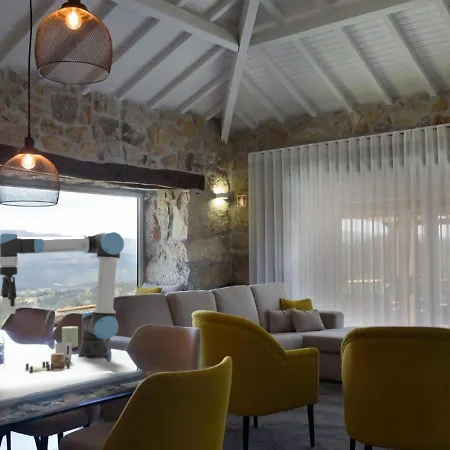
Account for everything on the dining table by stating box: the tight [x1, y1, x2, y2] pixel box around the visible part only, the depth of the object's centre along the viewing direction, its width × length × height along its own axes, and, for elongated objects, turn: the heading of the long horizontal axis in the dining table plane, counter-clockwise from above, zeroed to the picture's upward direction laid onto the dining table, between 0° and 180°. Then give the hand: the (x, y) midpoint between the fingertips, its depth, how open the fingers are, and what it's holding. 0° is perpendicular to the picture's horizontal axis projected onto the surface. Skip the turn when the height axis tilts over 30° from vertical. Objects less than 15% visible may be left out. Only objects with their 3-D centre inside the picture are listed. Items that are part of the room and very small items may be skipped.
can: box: [61, 325, 79, 349], centre depth 323 cm, size 9×9×12 cm
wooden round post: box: [50, 352, 66, 369], centre depth 257 cm, size 6×6×6 cm
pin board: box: [24, 360, 73, 374], centre depth 255 cm, size 18×13×4 cm
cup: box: [54, 342, 73, 364], centre depth 271 cm, size 8×8×10 cm
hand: (8, 312), depth 258 cm, fingers open, 13 cm apart
